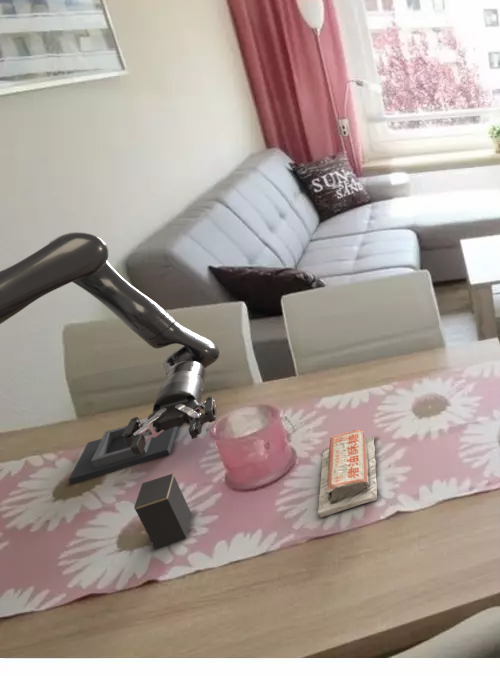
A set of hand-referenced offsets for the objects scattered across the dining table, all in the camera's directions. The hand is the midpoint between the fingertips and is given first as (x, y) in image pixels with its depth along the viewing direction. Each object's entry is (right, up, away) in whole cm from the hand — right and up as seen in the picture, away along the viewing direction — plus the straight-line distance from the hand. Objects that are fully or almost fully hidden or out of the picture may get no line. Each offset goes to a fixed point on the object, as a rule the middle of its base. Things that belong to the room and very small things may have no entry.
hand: (165, 442), depth 100 cm
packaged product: (+32, -9, +6) cm, 34 cm away
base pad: (-20, -7, +15) cm, 26 cm away
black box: (+6, -14, -5) cm, 16 cm away
